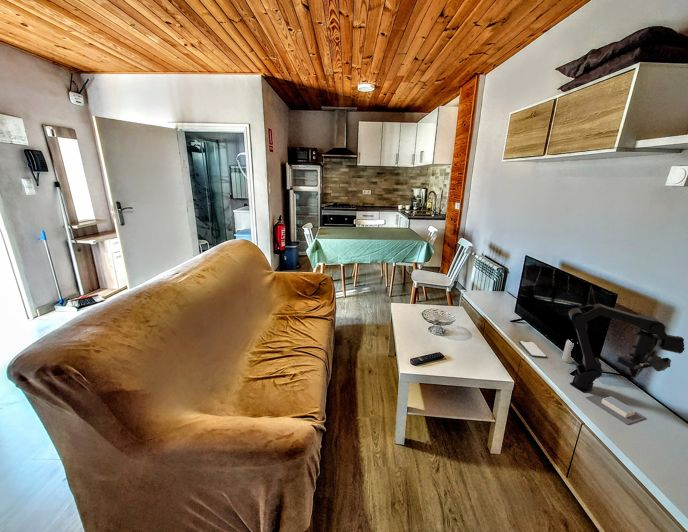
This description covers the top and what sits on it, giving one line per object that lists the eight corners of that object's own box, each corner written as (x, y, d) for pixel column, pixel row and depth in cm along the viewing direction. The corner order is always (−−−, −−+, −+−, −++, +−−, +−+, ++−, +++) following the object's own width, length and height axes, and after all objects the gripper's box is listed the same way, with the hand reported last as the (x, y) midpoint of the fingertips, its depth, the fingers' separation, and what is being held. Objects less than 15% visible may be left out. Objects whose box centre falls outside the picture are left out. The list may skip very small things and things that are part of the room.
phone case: (547, 359, 165) (532, 344, 180) (548, 357, 165) (533, 341, 180) (530, 358, 166) (517, 342, 181) (531, 355, 165) (518, 340, 181)
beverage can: (559, 359, 164) (565, 340, 161) (564, 357, 166) (569, 338, 163) (569, 364, 160) (575, 344, 157) (573, 362, 163) (579, 342, 159)
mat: (585, 398, 134) (585, 397, 134) (603, 393, 138) (603, 392, 138) (627, 424, 120) (627, 423, 120) (645, 418, 124) (646, 417, 124)
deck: (610, 400, 133) (601, 402, 131) (611, 396, 133) (602, 398, 131) (634, 414, 125) (625, 417, 123) (635, 410, 124) (626, 413, 122)
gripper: (654, 358, 117) (641, 392, 121) (684, 353, 122) (670, 385, 127) (621, 344, 127) (611, 375, 132) (651, 339, 133) (639, 370, 137)
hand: (633, 377), depth 131 cm, fingers closed
